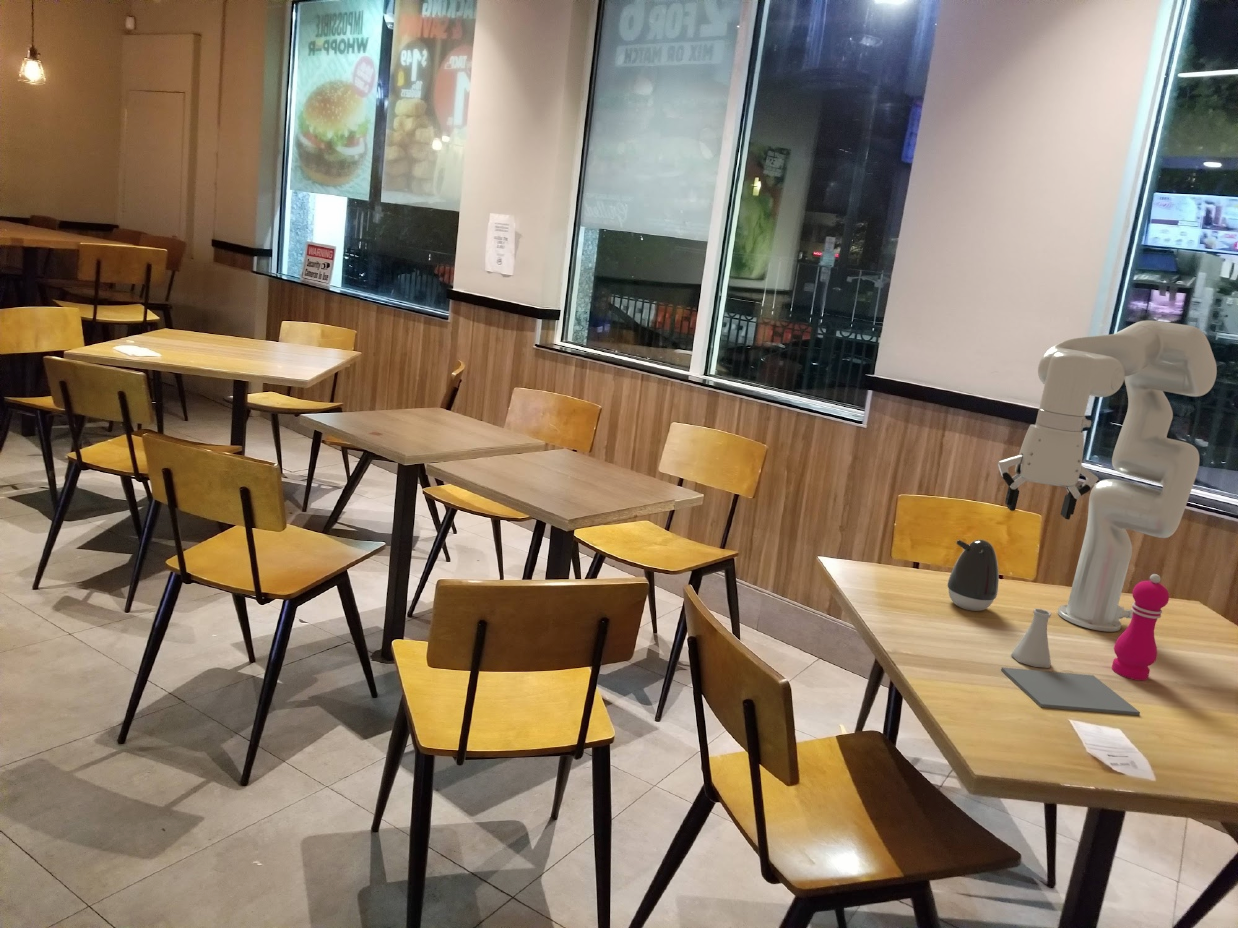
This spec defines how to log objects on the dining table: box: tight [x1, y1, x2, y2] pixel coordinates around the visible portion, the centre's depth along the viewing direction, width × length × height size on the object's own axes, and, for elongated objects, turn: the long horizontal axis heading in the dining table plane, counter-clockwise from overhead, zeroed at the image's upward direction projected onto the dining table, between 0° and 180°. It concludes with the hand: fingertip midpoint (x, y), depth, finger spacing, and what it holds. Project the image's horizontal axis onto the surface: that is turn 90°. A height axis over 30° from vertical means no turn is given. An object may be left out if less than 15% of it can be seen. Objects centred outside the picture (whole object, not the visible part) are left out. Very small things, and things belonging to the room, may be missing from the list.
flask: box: [1010, 608, 1052, 669], centre depth 180 cm, size 7×7×10 cm
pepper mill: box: [1111, 573, 1170, 681], centre depth 179 cm, size 7×7×20 cm
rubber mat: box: [1000, 666, 1141, 716], centre depth 169 cm, size 18×14×1 cm
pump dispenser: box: [947, 539, 1000, 612], centre depth 206 cm, size 10×10×15 cm
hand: (1037, 513), depth 175 cm, fingers open, 9 cm apart
